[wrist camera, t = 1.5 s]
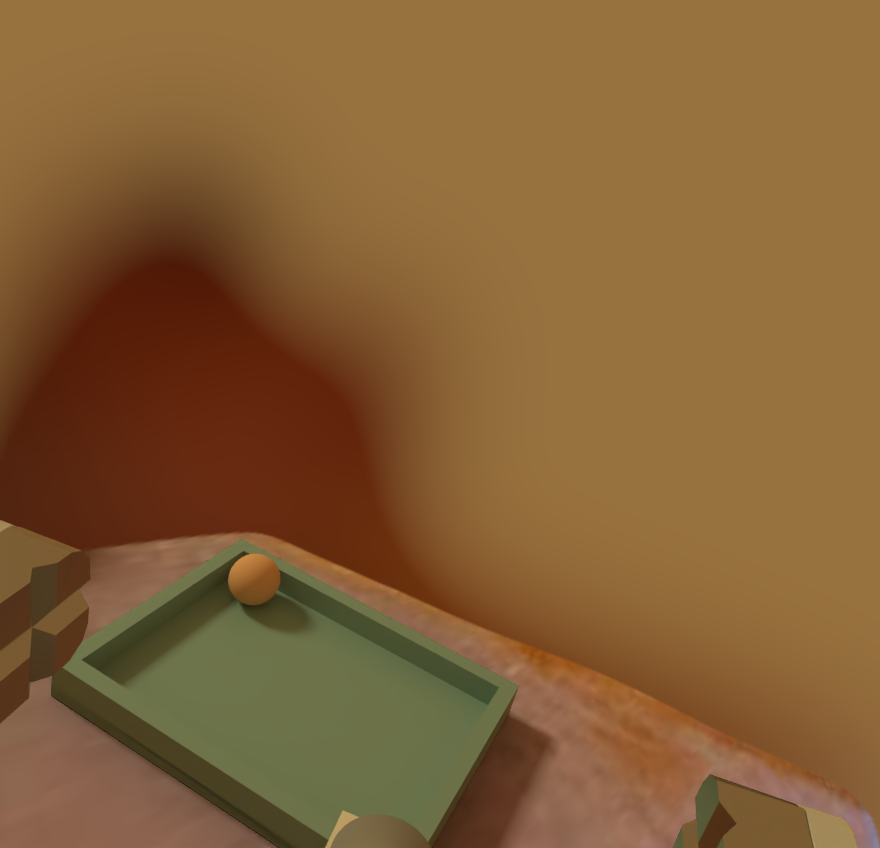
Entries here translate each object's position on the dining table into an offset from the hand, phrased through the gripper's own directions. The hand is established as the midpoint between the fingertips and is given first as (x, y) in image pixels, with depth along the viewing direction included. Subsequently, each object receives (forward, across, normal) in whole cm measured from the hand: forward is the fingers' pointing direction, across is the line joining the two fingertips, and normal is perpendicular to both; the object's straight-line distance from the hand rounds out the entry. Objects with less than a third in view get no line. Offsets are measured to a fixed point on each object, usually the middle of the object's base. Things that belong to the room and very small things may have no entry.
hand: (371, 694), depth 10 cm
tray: (+27, +9, +28) cm, 40 cm away
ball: (+34, +15, +27) cm, 46 cm away
